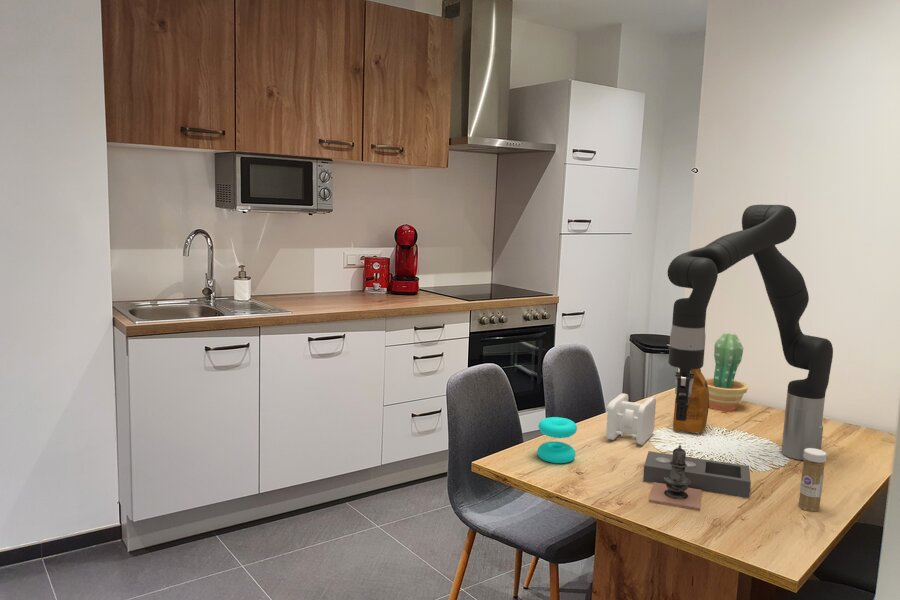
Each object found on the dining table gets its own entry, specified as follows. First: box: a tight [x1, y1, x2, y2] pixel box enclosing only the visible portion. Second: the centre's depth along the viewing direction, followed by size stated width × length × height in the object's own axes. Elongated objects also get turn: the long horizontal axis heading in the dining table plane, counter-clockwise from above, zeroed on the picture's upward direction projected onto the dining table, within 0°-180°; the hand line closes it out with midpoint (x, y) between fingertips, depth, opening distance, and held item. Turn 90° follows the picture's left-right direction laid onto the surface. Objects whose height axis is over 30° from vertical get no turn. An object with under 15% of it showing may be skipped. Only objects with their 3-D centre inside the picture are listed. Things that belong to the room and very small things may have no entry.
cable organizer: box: [605, 392, 657, 446], centre depth 205 cm, size 15×11×12 cm
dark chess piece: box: [664, 444, 691, 499], centre depth 164 cm, size 6×6×12 cm
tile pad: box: [648, 482, 702, 512], centre depth 165 cm, size 11×11×1 cm
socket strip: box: [642, 450, 752, 499], centre depth 175 cm, size 24×11×4 cm, turn 69°
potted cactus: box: [705, 332, 750, 412], centre depth 239 cm, size 15×16×25 cm
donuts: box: [536, 416, 578, 464], centre depth 188 cm, size 10×10×10 cm
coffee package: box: [672, 368, 710, 434], centre depth 215 cm, size 10×12×22 cm
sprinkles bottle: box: [797, 448, 827, 512], centre depth 161 cm, size 5×5×14 cm
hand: (681, 414), depth 163 cm, fingers open, 8 cm apart
